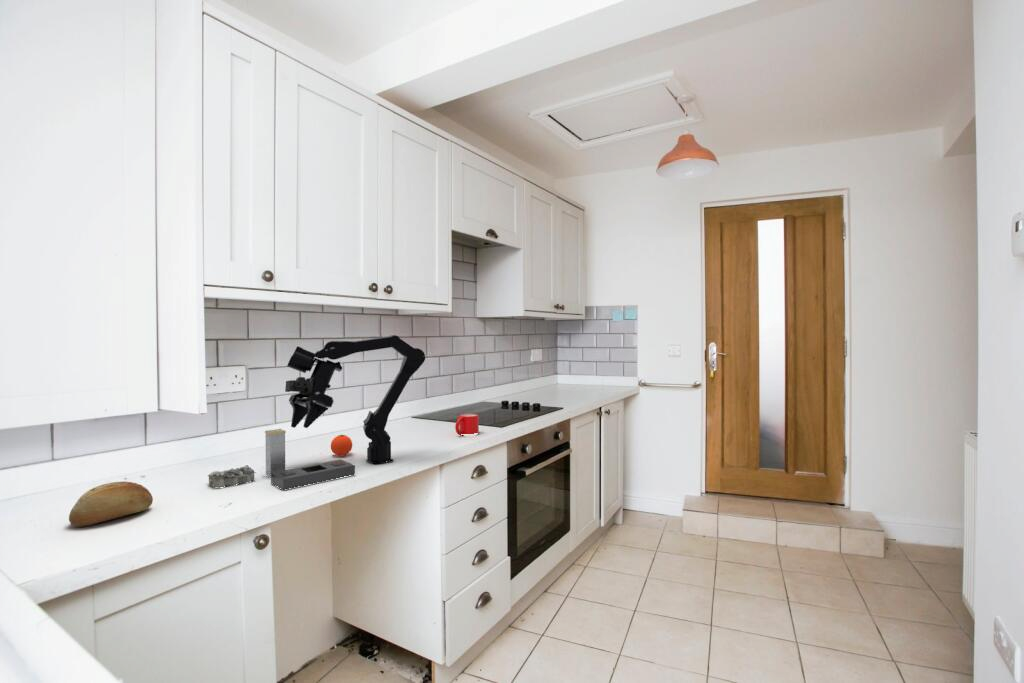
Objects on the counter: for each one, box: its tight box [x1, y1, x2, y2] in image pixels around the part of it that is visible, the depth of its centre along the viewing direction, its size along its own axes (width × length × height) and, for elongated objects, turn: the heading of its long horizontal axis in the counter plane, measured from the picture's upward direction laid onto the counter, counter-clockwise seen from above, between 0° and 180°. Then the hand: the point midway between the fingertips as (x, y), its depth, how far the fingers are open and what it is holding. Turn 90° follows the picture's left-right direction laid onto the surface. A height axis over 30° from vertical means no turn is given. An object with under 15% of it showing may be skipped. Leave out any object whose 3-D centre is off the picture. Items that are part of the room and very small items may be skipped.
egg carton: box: [207, 465, 257, 489], centre depth 137 cm, size 11×8×4 cm
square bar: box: [264, 428, 286, 479], centre depth 143 cm, size 4×4×13 cm
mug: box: [454, 413, 480, 436], centre depth 201 cm, size 8×12×8 cm, turn 148°
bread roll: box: [68, 481, 154, 528], centre depth 111 cm, size 10×15×8 cm, turn 146°
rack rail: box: [270, 459, 356, 491], centre depth 140 cm, size 20×9×3 cm, turn 134°
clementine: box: [330, 434, 353, 457], centre depth 167 cm, size 8×7×7 cm
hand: (298, 427), depth 146 cm, fingers open, 9 cm apart
